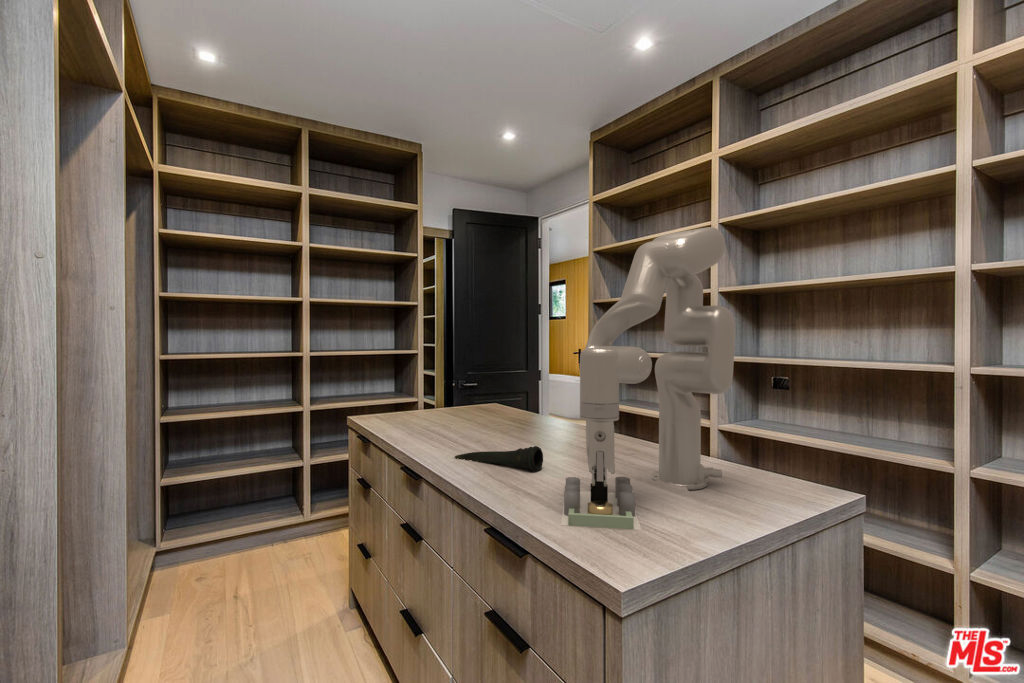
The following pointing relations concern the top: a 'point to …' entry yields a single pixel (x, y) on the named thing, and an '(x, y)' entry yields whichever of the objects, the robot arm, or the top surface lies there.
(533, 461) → the tool
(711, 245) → the robot arm
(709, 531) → the top surface
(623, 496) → the board
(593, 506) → the gold short round piece
